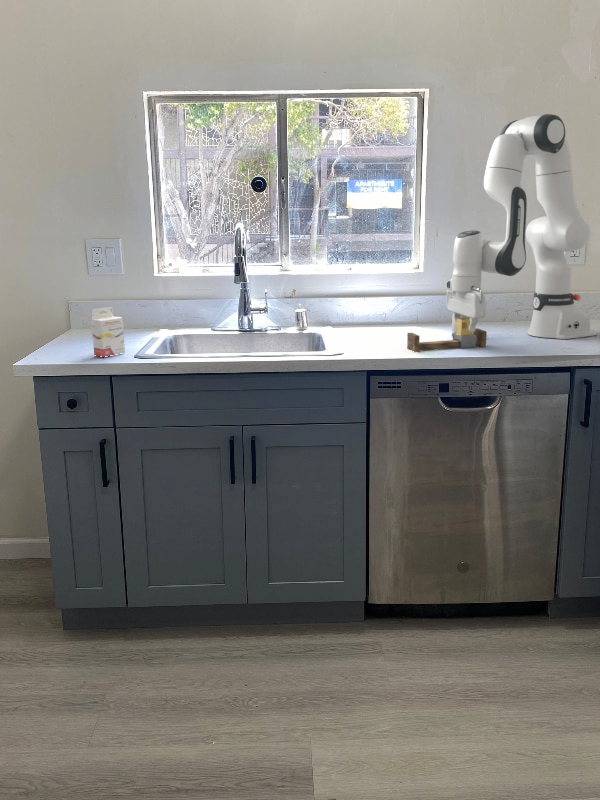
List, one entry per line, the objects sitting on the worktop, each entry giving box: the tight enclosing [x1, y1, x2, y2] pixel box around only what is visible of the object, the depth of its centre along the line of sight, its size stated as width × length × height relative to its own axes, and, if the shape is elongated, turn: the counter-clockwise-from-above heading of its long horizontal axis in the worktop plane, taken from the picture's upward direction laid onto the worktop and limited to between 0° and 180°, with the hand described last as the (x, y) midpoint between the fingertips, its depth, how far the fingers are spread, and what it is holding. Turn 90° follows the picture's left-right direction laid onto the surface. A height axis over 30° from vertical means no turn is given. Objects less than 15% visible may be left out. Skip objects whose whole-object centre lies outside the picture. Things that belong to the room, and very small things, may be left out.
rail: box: [406, 327, 488, 353], centre depth 230 cm, size 24×6×5 cm, turn 104°
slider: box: [452, 317, 476, 349], centre depth 231 cm, size 5×6×9 cm
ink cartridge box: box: [90, 306, 126, 357], centre depth 228 cm, size 9×5×15 cm, turn 141°
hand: (464, 328), depth 230 cm, fingers open, 8 cm apart
